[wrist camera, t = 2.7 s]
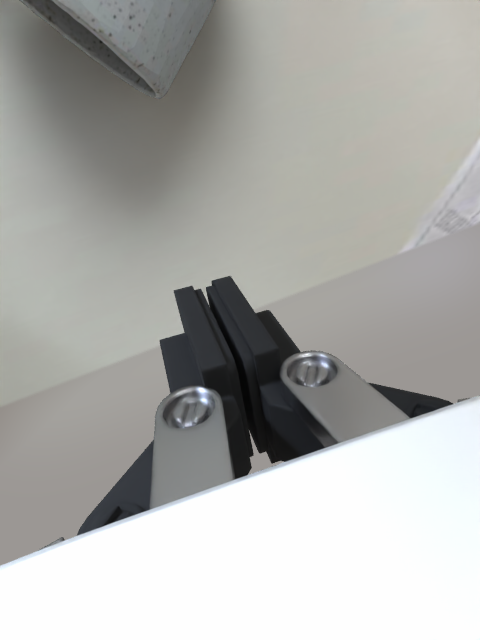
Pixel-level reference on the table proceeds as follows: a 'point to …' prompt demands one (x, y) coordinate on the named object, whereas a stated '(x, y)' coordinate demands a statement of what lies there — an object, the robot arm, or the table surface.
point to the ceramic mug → (130, 35)
